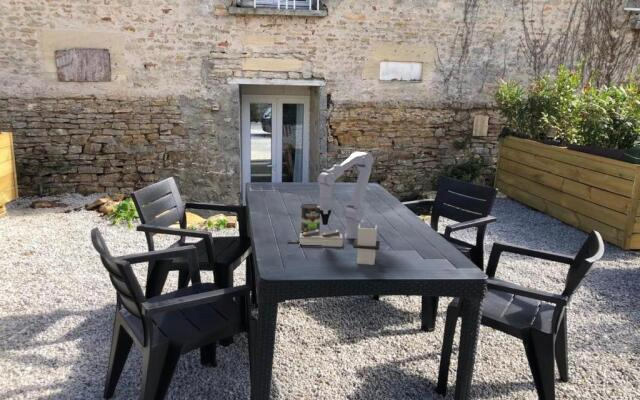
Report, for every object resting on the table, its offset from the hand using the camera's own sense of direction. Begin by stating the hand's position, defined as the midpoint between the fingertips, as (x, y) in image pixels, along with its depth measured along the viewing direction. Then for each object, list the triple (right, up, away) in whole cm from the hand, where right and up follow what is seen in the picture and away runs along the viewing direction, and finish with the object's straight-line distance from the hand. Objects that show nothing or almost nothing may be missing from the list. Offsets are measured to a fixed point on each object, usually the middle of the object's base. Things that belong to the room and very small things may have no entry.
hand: (325, 224), depth 229 cm
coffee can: (-8, -5, +22) cm, 24 cm away
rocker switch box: (-5, -9, +2) cm, 11 cm away
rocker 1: (-7, -4, +1) cm, 8 cm away
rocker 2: (+3, -5, +1) cm, 6 cm away
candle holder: (+18, -16, -22) cm, 32 cm away
